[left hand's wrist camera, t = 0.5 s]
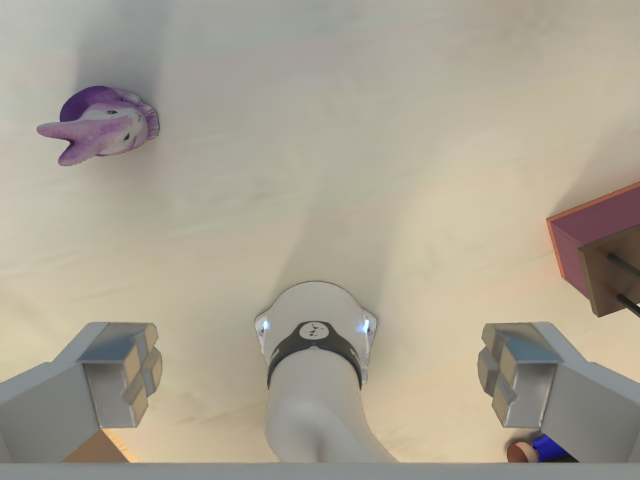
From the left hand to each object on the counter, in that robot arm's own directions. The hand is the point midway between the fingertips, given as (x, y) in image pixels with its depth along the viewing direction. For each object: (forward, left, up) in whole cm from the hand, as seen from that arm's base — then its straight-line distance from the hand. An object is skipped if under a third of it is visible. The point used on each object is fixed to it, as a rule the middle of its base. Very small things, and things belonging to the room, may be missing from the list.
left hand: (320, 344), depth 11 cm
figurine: (+1, +25, -47) cm, 53 cm away
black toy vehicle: (-55, -39, -47) cm, 82 cm away
